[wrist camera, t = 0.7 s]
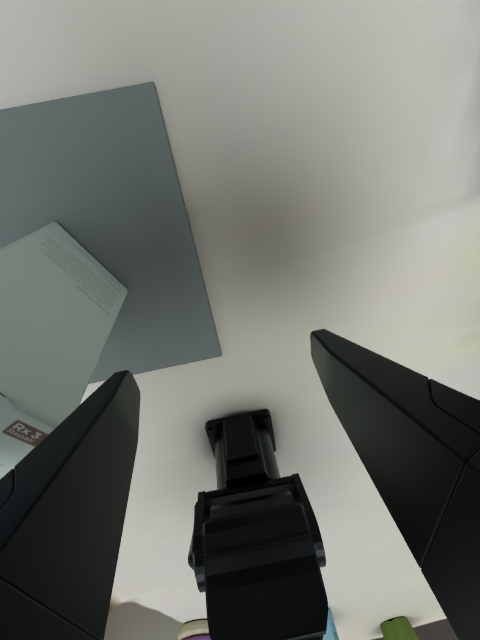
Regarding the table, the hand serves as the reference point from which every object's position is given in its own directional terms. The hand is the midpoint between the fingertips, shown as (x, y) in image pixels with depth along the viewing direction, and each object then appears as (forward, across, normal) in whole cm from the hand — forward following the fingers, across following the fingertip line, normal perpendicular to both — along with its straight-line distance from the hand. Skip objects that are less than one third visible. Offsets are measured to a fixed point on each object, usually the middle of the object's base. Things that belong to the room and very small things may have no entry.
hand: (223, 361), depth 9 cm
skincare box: (+12, +9, 0) cm, 15 cm away
